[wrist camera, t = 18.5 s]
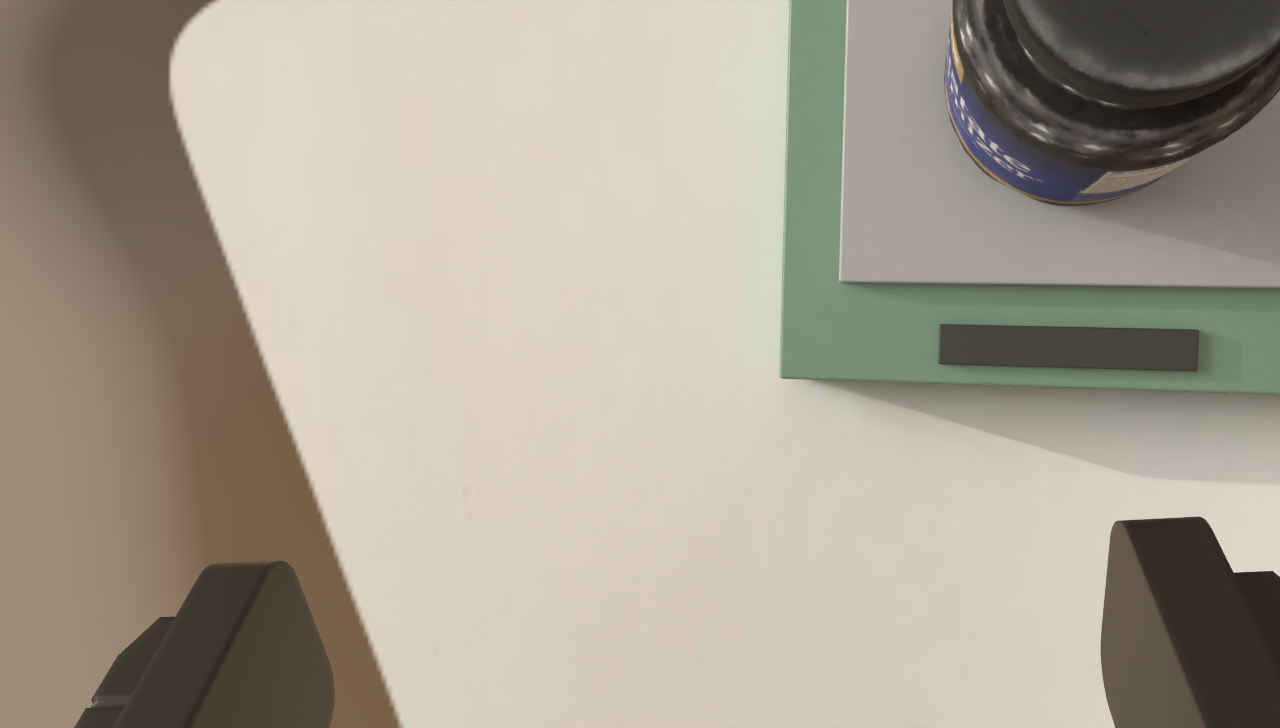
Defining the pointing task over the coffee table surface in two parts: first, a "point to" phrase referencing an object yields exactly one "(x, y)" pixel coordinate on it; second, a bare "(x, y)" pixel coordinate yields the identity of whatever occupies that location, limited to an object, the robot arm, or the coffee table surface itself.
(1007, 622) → the coffee table surface
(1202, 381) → the kitchen scale
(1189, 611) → the robot arm
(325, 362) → the coffee table surface
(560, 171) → the coffee table surface
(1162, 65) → the pill bottle
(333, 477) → the coffee table surface
